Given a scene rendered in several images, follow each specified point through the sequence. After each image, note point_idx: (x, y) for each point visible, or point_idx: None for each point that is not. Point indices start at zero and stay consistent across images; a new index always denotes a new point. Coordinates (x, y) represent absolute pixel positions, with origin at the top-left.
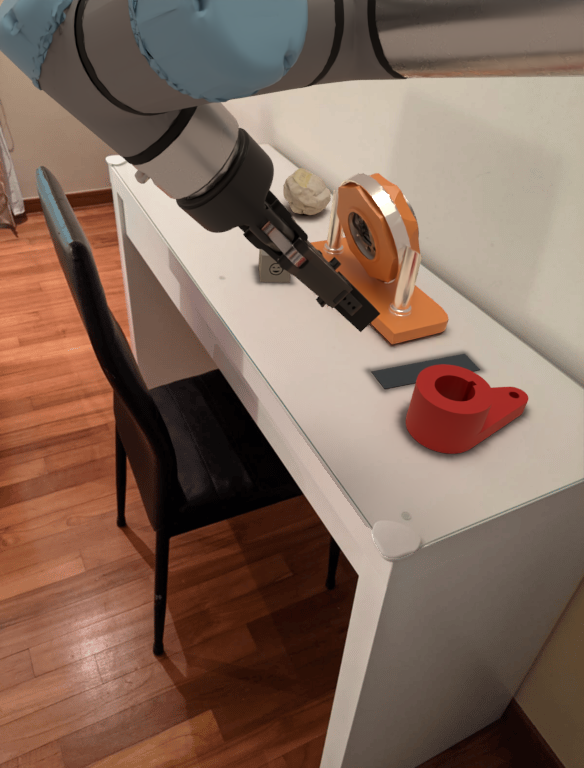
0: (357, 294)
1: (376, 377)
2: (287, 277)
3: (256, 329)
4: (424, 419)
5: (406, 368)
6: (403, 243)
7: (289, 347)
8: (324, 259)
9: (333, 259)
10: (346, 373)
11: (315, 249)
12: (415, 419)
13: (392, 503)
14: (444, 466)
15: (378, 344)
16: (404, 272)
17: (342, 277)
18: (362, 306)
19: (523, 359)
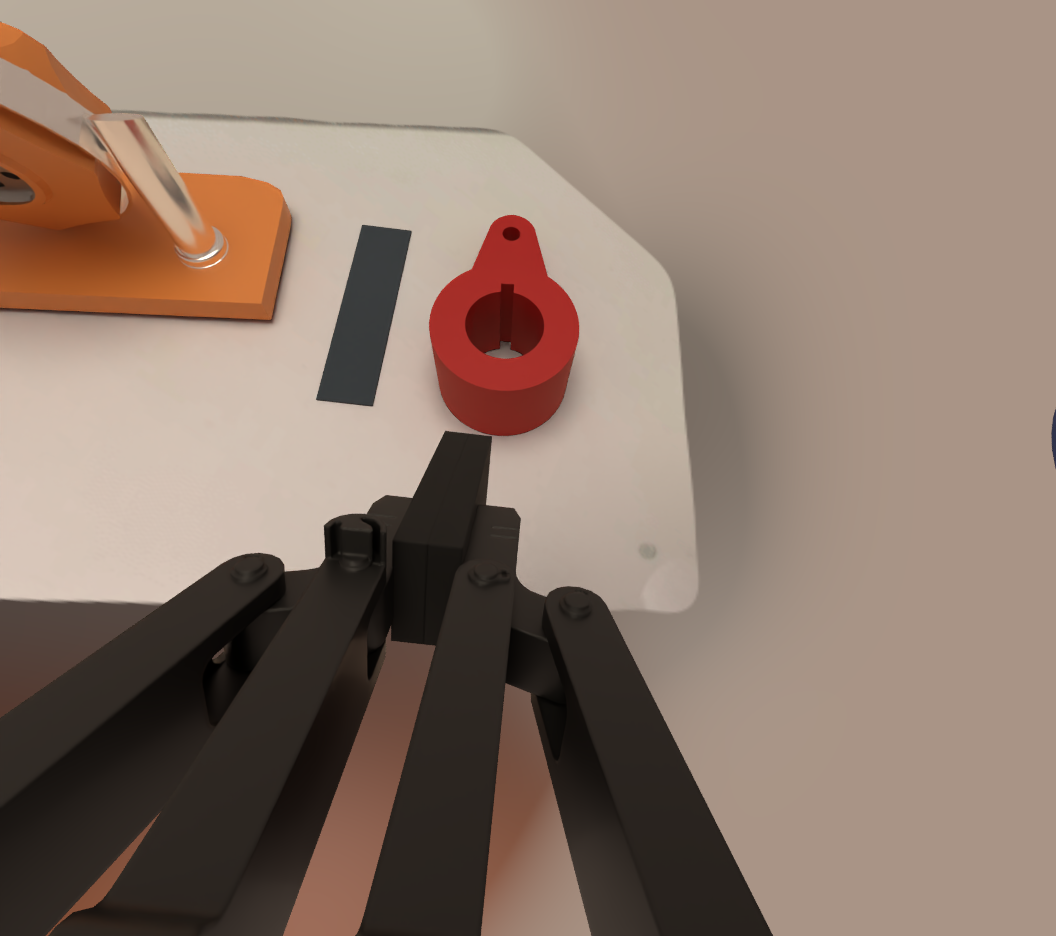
0: (476, 503)
1: (337, 401)
2: None
3: (45, 547)
4: (517, 410)
5: (343, 337)
6: (71, 117)
7: (152, 509)
8: (363, 617)
9: (333, 536)
10: (294, 445)
11: (306, 658)
12: (497, 418)
13: (617, 556)
14: (580, 429)
15: (252, 340)
16: (150, 181)
17: (489, 582)
18: (481, 492)
19: (423, 156)
